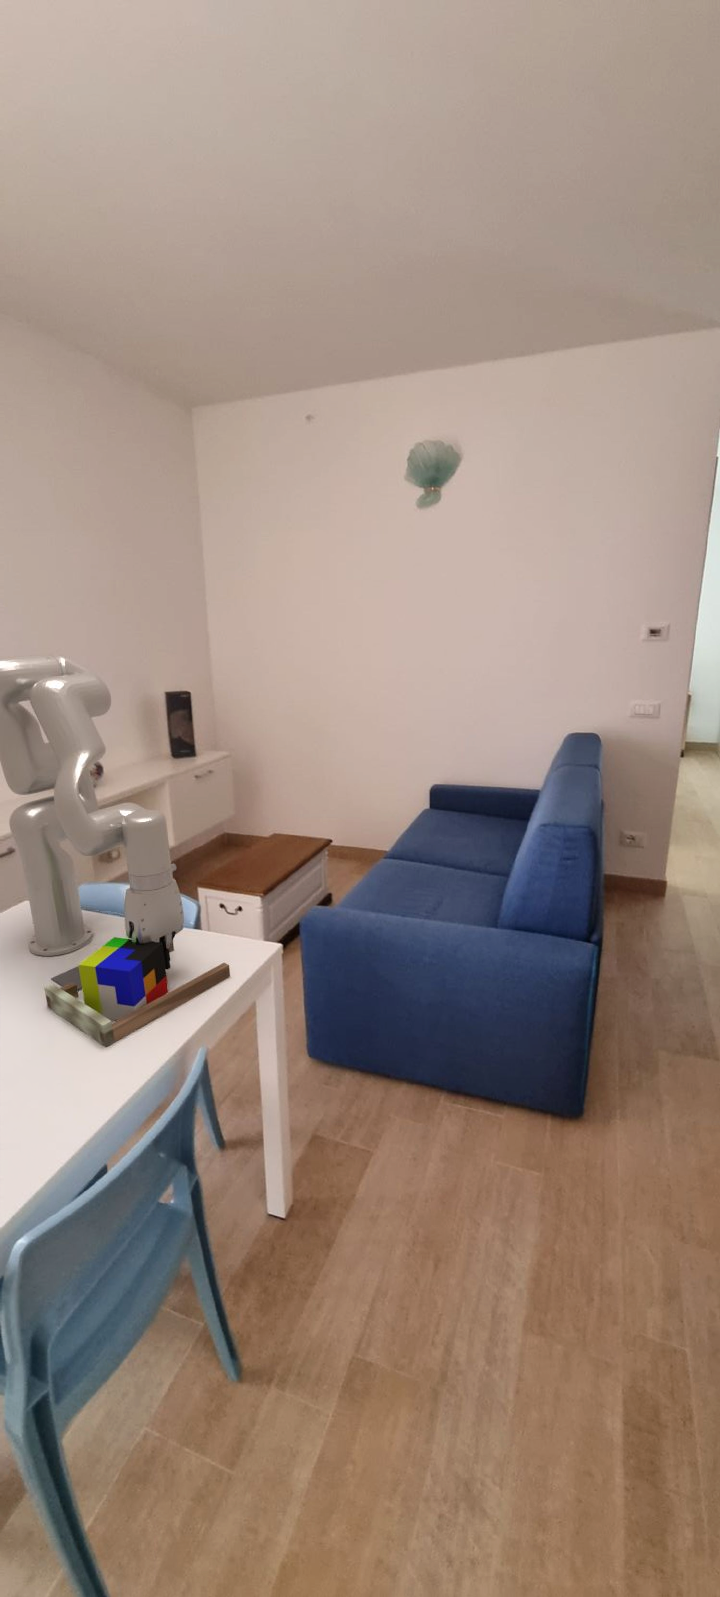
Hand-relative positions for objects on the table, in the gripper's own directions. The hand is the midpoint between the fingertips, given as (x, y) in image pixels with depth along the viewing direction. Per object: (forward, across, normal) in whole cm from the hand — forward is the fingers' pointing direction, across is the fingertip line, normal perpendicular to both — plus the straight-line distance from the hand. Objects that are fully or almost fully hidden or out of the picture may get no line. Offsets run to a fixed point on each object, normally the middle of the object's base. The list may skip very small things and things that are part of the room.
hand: (162, 967), depth 122 cm
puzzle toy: (+3, +8, +1) cm, 9 cm away
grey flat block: (+3, +10, -14) cm, 17 cm away
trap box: (+3, +5, 0) cm, 5 cm away
